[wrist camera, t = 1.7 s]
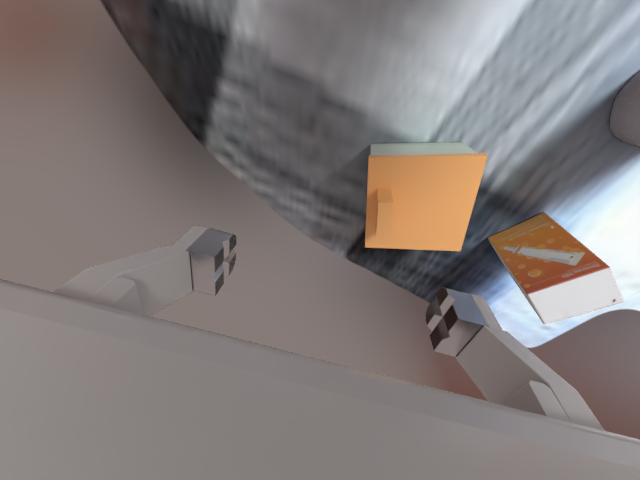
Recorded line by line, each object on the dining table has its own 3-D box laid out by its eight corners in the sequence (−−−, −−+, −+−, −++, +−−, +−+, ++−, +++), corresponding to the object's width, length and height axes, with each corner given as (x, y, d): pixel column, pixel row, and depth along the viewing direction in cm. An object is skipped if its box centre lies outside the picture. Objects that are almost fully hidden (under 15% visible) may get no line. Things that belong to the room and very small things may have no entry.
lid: (481, 150, 29) (504, 167, 24) (456, 242, 36) (470, 270, 31) (368, 153, 31) (368, 168, 26) (365, 239, 38) (364, 265, 33)
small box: (543, 210, 38) (613, 266, 27) (557, 240, 40) (627, 303, 29) (485, 237, 41) (526, 295, 31) (501, 263, 44) (544, 326, 33)
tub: (461, 141, 34) (480, 155, 29) (444, 220, 41) (456, 245, 35) (370, 143, 36) (371, 157, 31) (367, 218, 43) (367, 241, 37)
